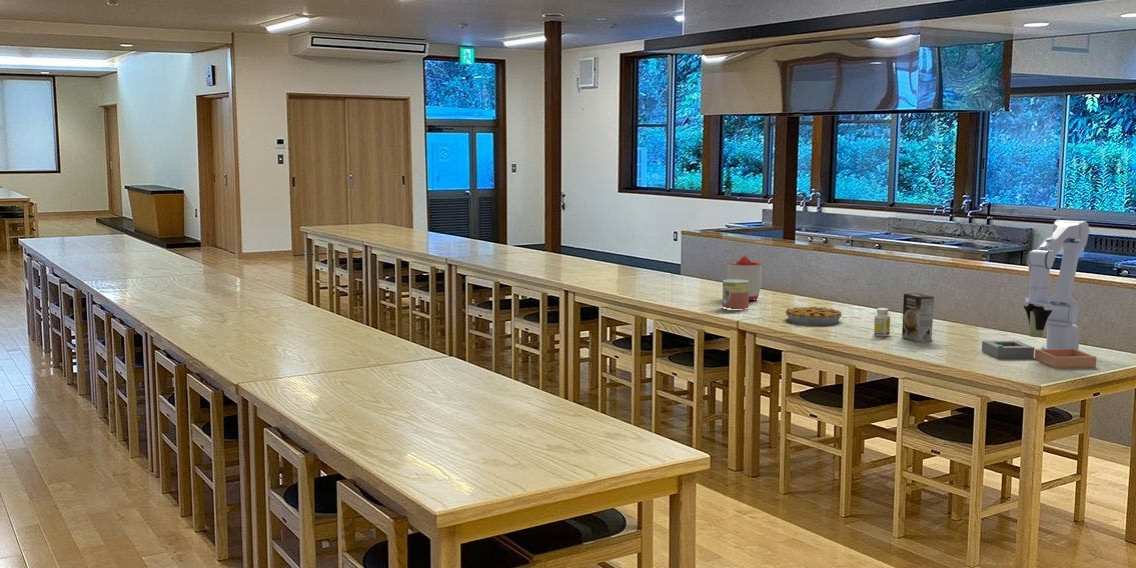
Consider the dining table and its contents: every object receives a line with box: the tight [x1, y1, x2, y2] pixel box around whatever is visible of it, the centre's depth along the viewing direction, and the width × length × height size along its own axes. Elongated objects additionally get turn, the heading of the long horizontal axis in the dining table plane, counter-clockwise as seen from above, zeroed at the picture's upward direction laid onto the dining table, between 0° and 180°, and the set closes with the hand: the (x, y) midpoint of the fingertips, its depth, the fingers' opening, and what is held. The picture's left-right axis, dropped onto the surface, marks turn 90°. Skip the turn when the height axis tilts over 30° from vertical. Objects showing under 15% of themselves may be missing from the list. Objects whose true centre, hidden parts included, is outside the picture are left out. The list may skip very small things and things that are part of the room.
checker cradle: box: [981, 340, 1036, 359], centre depth 335 cm, size 12×12×4 cm
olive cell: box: [1028, 311, 1044, 338], centre depth 327 cm, size 4×4×9 cm
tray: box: [1034, 348, 1098, 369], centre depth 321 cm, size 13×13×3 cm
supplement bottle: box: [873, 307, 891, 337], centre depth 369 cm, size 5×5×10 cm
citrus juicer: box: [725, 255, 763, 301], centre depth 455 cm, size 16×17×20 cm
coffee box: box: [901, 292, 935, 343], centre depth 361 cm, size 9×6×16 cm
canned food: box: [721, 278, 750, 309], centre depth 431 cm, size 11×11×12 cm
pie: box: [785, 306, 843, 326], centre depth 400 cm, size 22×22×5 cm
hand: (1036, 328), depth 327 cm, fingers closed on olive cell, 4 cm apart
